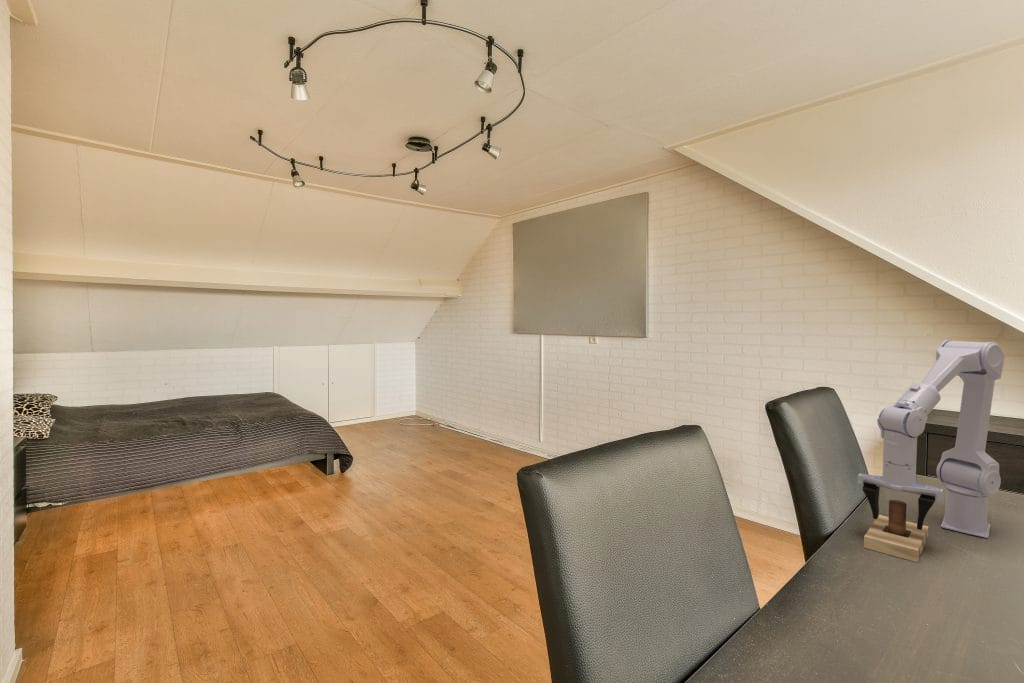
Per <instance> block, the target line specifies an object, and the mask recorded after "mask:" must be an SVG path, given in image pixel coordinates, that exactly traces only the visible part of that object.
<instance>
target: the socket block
mask: <svg viewBox="0 0 1024 683" xmlns="http://www.w3.org/2000/svg"><path fill="white" fill-rule="evenodd" d="M888 523H889V516H886V515H881V514H879V517H878V518H877V519H874V521H873V522H872V524H871V526H870V527H869V529H868V530H867V531H866V533H865V534H864V536H863V537H864V538H863V548H864V549H867V550H871V551H874V552H879V553H882V554H886V555H888V556H893V557H896V558H901V559H904V560H907V561H909V562H914V563H918V562H919V561H920V557H921V555H922V554H923V550H924V548H925V545H926V542H927V540H928V539H929V526H928V525H924V524H923V527H922V530H919V529H917V523H915V522H912V521H907V520H906V535H905V537H903V536H899V535H895V534H891V533H888Z"/></svg>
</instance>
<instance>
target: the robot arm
mask: <svg viewBox="0 0 1024 683" xmlns="http://www.w3.org/2000/svg"><path fill="white" fill-rule="evenodd" d="M935 359H936V361H935V362H934V364H933V365H932V366H931V368H930V370H929V371H928V372H927V374H926V376H925V377H924V379H923V380H922V381H921V382H920V383H919V382H917V383H913V384H911V385H910V386H909V387H908V389H906V391H905V392H904V393H903V394H902V395H901V397H899V399H898V400H897V401H896V402H895V403H894V404H893V405H889V406H887V407H885V408H883V409H882V410H881V411H880V412H879V415H878V417H877V419H876V423H877V426H878V428H879V430H880V437H881V439H883V447H882V448H883V450H882V452H883V453H882V475H876V474H875V475H874V474H866V473H858V474H857V484H859V485H863V486H862V491H863V494H864V495H865V497H866V499H867V501H868V504H869V507H870V509H871V514H872V519H874V520H876V519H877V518H878V517H879V515H880V508H879V507H880V506H879V500H880V498H879V497H880V489H881V488H884V489H888V490H893V491H898V492H903V493H907V494H908V493H909V494H913V495H918V496H919V497H918V499H917V501H918V502H917V504H918V512H917V513H918V514H917V515H918V516H917V523H916V524H917V529H919V530H922V527H923V525H924V522H925V519H926V516H927V514H928V512H929V511H930V509H931V508H932V507H933V505H934V503H935V502H936V500H938V501H942V500H943V498H944V489H943V488H940V487H935V486H931V485H927V484H923V483H919V482H916V481H917V480H916V479H917V459H918V458H917V454H918V453H917V452H918V451H917V450H918V437H919V436H921V434H923V433H924V431H925V428H926V423H927V421H928V419H929V418H928V415H929V414H930V413H931V412H932V410H934V408H935V407H936V406H937V404H939V402H940V401H941V398H942V397H941V395H940V391H942V390H943V389H944V388H945V387H946V386H947V385H948V384H949V383H950V382H951V381H952V380H953V379H954V378H956V376H958V377H959V378H960V380H962V381H963V386H962V394H961V400H960V402H961V403H960V408H959V417H958V424H957V431H956V435H955V436H956V438H955V445H954V447H953V448H950V449H947V450H946V451H943V452H942V454H941V458H940V460H939V462H938V464H937V465H936V476H937V479H938V481H939V482H940V483H942V487H944V488H945V513H944V516H943V519H942V522H941V524H940V527H941V528H942V529H945V530H951V531H953V532H959V533H963V534H967V535H972V536H974V537H975V536H977V537H981V538H984V539H989V536H990V529H991V524H990V523H988V513H989V512H988V510H989V497H991V496H993V495H994V494H996V493H997V492H998V491H999V489H1000V486H1001V484H1002V481H1001V480H1002V478H1001V475H1000V463H999V462H997V460H995V459H994V458H993V457H991V456H990V454H988V453H986V448H987V442H988V441H987V440H988V439H987V438H988V433H989V426H990V418H991V409H992V404H993V397H994V390H995V389H994V387H995V382H996V381H997V380H1000V379H1001V377H1002V373H1003V368H1004V362H1005V352H1004V351H1003V349H1002V348H1001V346H1000V345H999V344H998V343H997V342H995V341H988V342H985V341H963V340H962V341H960V340H952V339H947V340H944V341H942V342H941V343H940V344H939V346H938V348H937V349H936V350H935Z"/></svg>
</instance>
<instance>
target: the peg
mask: <svg viewBox="0 0 1024 683" xmlns="http://www.w3.org/2000/svg"><path fill="white" fill-rule="evenodd" d="M907 505H908V504H907V503H906V502H905V501H902V500H898V499H897V500H896V499H890V500H888V517H889V523H888V533H891V534H895V535H899V536H903V537H905V535H906V521H907Z"/></svg>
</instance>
